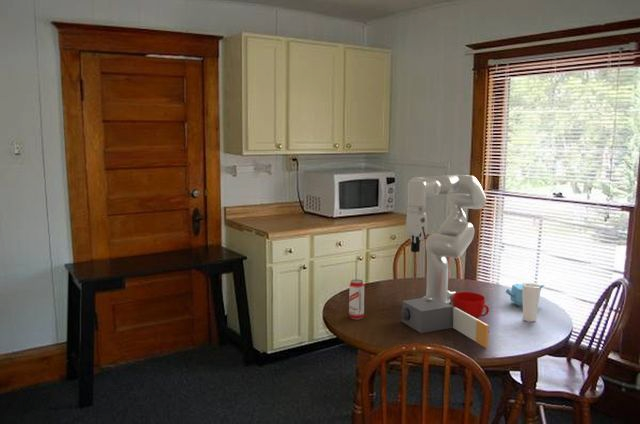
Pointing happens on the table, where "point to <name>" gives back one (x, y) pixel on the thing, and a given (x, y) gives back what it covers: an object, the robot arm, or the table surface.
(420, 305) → the block
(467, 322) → the side door
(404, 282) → the table surface
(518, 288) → the teapot
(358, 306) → the beer can
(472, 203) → the robot arm
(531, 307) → the drinking glass
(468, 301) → the ceramic cup
